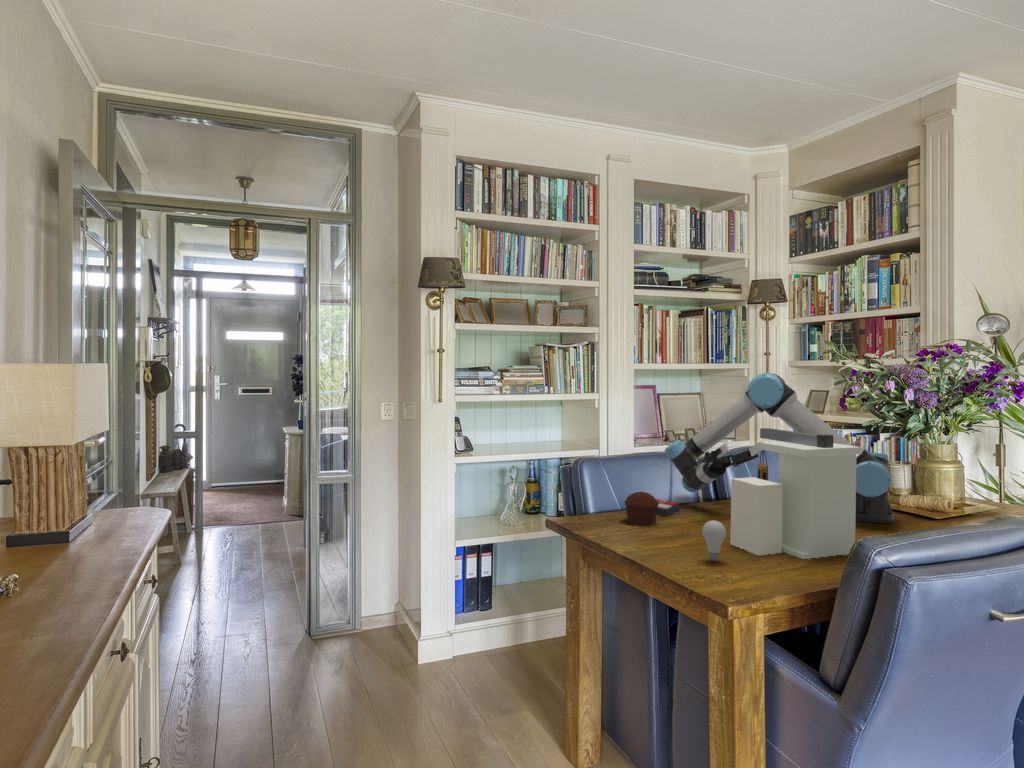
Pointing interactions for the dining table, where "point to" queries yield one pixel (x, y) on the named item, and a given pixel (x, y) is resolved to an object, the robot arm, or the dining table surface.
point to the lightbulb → (714, 538)
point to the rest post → (756, 515)
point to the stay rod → (797, 437)
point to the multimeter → (763, 468)
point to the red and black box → (666, 508)
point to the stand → (817, 498)
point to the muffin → (641, 508)
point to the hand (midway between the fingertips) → (745, 445)
